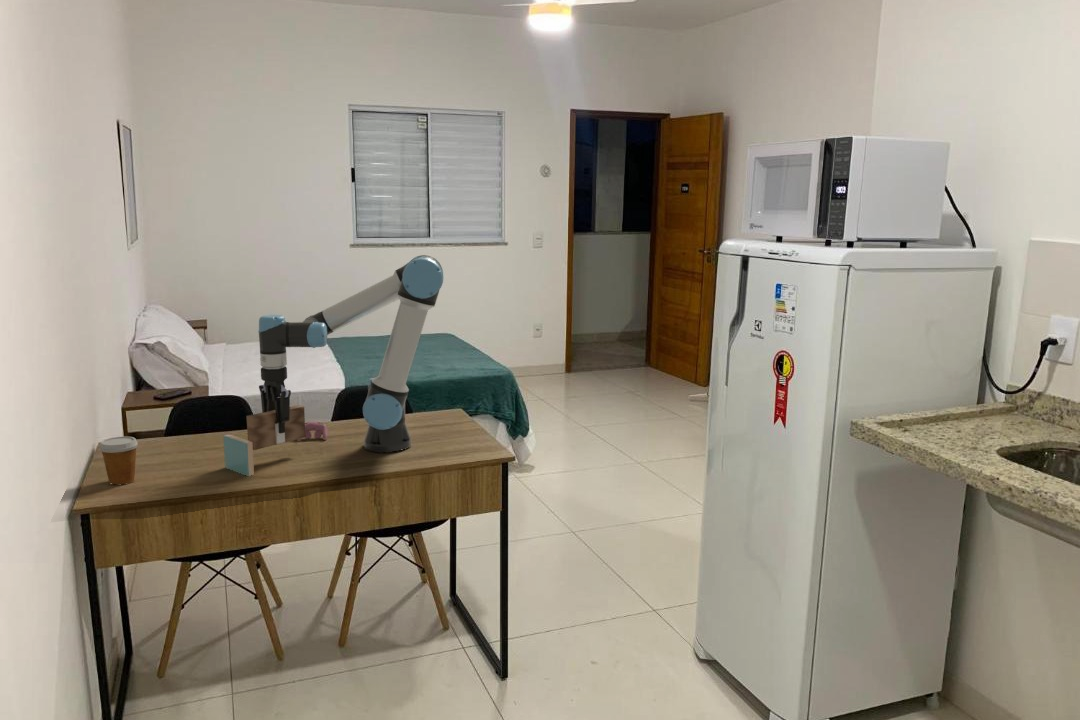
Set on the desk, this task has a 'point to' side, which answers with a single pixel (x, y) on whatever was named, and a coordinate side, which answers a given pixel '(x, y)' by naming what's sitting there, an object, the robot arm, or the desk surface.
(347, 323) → the robot arm
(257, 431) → the wooden plank
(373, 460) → the desk surface
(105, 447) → the disposable coffee cup
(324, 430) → the video game controller
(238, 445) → the tile
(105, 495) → the desk surface
